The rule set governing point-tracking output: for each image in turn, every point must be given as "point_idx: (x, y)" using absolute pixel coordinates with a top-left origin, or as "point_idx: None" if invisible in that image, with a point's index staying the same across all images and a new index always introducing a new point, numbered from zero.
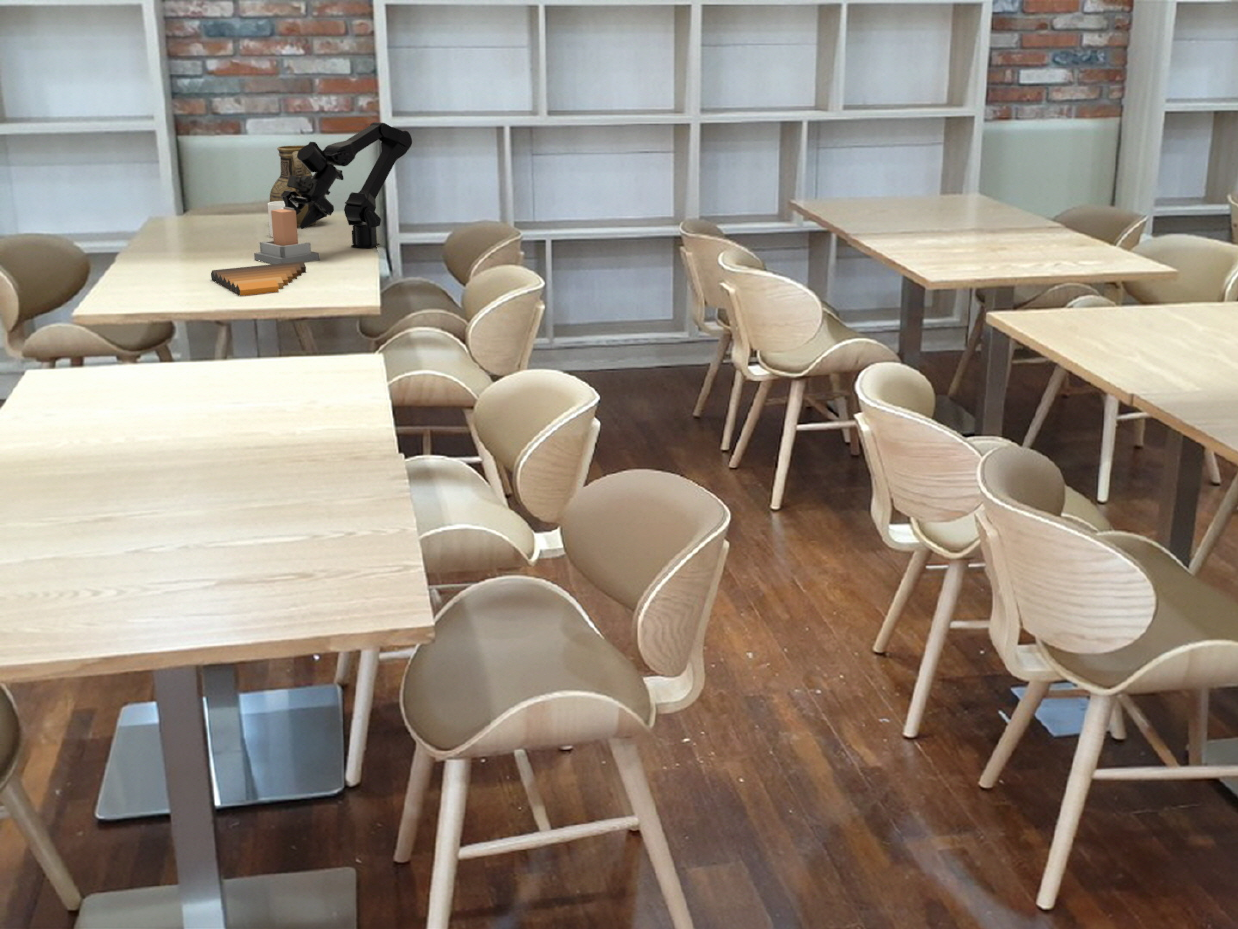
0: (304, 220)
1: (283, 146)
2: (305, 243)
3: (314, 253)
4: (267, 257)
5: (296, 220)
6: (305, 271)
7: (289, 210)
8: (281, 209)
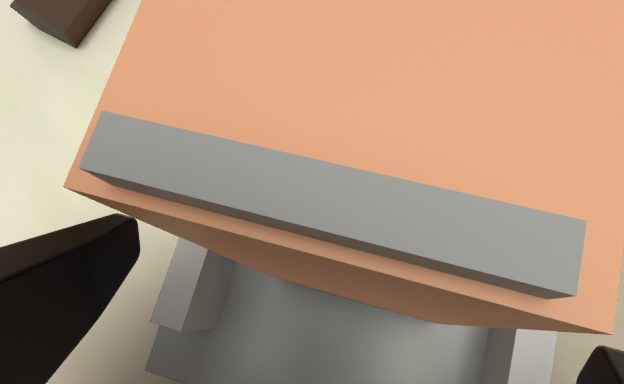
0: (11, 246)
1: None
2: (171, 269)
3: (164, 331)
4: None
5: (171, 232)
6: (36, 25)
7: (230, 133)
8: (557, 156)
